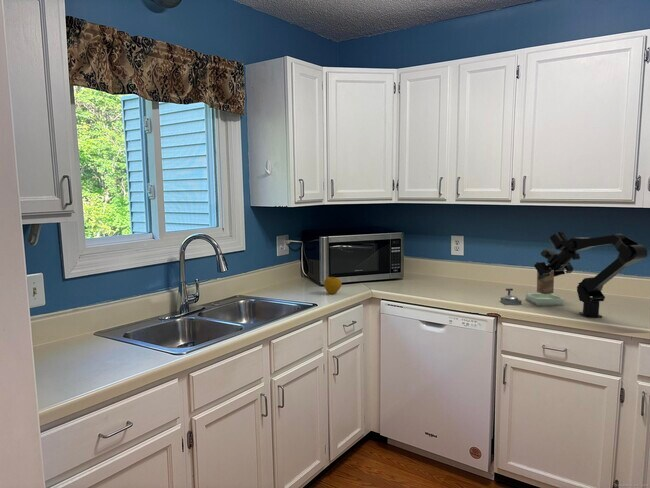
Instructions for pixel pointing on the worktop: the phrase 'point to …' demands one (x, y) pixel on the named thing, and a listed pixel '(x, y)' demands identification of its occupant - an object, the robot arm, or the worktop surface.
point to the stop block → (545, 283)
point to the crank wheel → (510, 297)
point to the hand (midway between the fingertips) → (543, 278)
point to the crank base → (511, 301)
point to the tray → (544, 299)
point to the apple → (332, 285)
